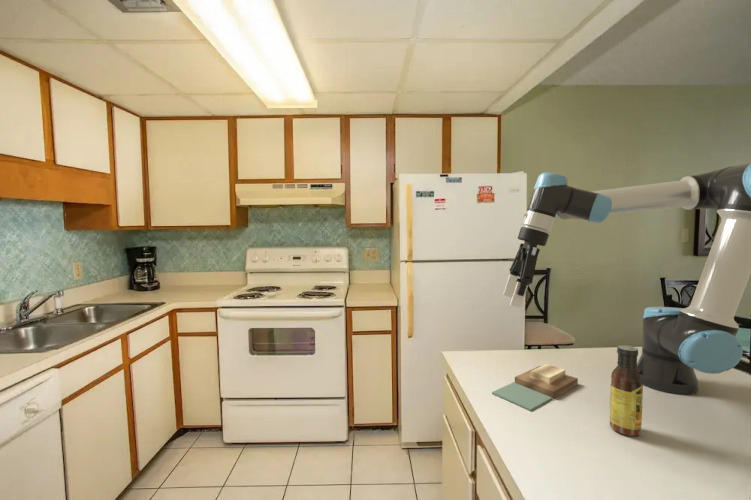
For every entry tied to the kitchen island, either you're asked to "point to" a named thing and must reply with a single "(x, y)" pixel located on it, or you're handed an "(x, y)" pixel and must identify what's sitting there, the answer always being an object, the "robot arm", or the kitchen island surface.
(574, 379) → the walnut deck
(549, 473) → the kitchen island surface
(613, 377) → the sauce bottle
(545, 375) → the maple tile
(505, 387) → the rubber mat
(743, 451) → the kitchen island surface
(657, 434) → the kitchen island surface
